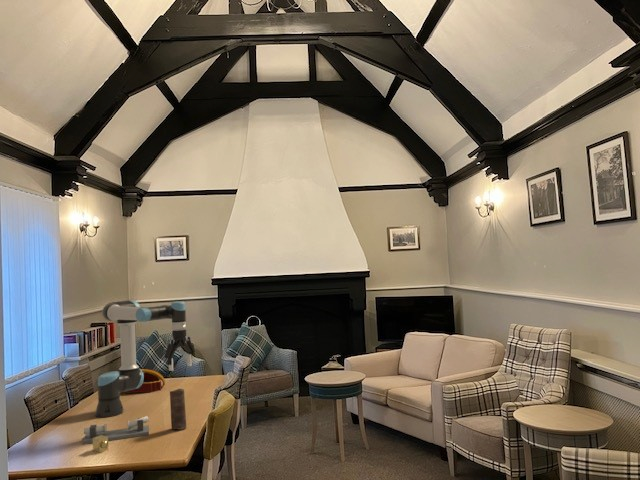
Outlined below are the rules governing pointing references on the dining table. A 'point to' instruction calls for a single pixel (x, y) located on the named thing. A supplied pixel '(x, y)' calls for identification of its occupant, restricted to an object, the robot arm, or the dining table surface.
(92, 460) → the dining table surface
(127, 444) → the dining table surface
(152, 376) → the decorative basket
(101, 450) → the coupler
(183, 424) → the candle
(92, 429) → the shaft mount
